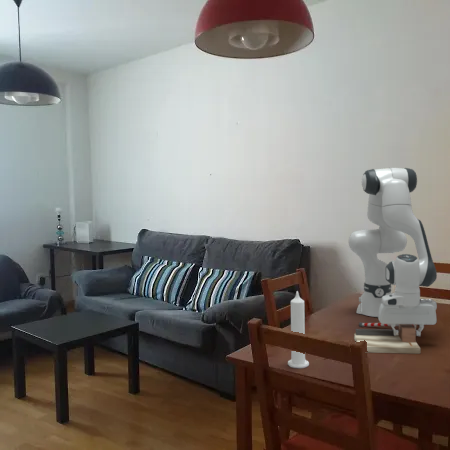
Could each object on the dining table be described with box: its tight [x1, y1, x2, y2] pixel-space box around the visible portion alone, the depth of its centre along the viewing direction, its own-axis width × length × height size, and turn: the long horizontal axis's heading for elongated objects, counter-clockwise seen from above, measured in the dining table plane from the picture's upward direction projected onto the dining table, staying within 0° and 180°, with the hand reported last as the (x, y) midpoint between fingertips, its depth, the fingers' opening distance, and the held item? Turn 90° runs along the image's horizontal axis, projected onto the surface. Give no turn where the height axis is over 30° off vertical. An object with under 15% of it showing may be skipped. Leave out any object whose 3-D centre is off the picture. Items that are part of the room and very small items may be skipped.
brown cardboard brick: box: [398, 324, 417, 342], centre depth 184 cm, size 7×4×5 cm, turn 171°
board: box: [353, 328, 421, 355], centre depth 183 cm, size 16×21×4 cm
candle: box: [287, 290, 310, 369], centre depth 166 cm, size 7×7×25 cm
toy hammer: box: [358, 321, 419, 330], centre depth 204 cm, size 23×12×6 cm, turn 65°
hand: (406, 335), depth 184 cm, fingers open, 6 cm apart
